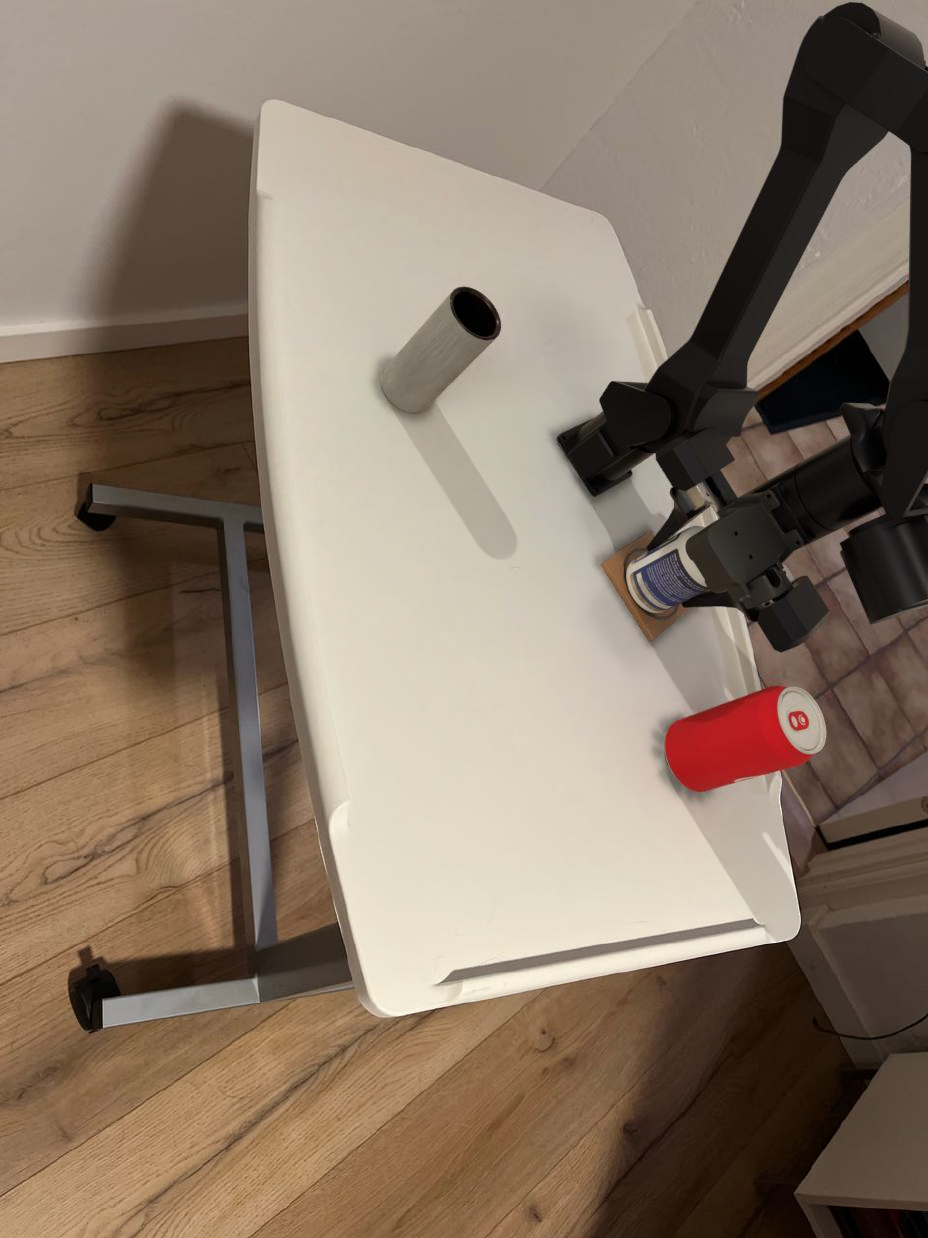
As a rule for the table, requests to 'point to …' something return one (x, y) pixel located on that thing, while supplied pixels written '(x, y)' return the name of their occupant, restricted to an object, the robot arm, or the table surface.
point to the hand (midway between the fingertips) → (666, 575)
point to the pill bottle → (665, 575)
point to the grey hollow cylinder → (441, 350)
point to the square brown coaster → (617, 573)
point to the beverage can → (745, 738)
